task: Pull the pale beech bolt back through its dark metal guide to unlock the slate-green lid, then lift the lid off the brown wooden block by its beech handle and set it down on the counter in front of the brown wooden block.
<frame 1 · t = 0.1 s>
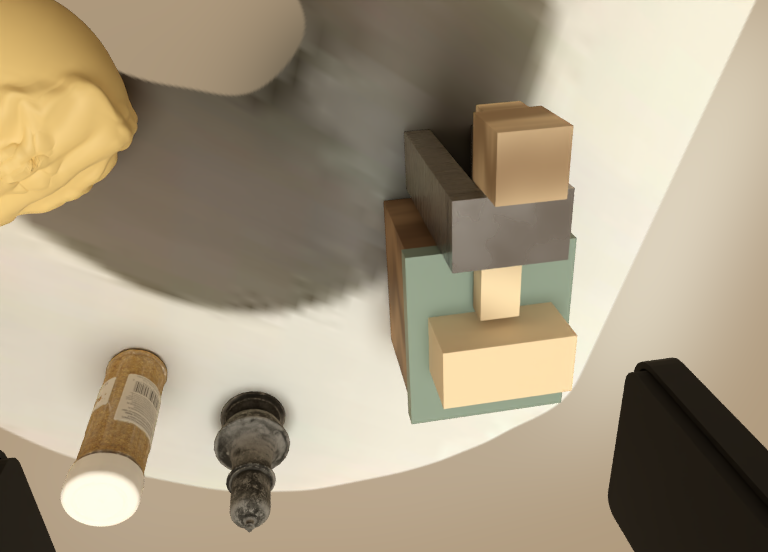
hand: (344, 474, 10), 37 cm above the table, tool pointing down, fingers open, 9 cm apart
lid: (484, 326, 43), point 9 cm above the table, touching brown wooden block
sprinkles bottle: (138, 370, 51), on the table
bolt: (510, 230, 35), point 13 cm above the table, slide at 0.0 cm
dark grey turned piece: (253, 415, 55), on the table
bolt guide: (450, 156, 47), on the table
sculpture: (42, 84, 41), on the table
brown wooden block: (450, 266, 51), on the table
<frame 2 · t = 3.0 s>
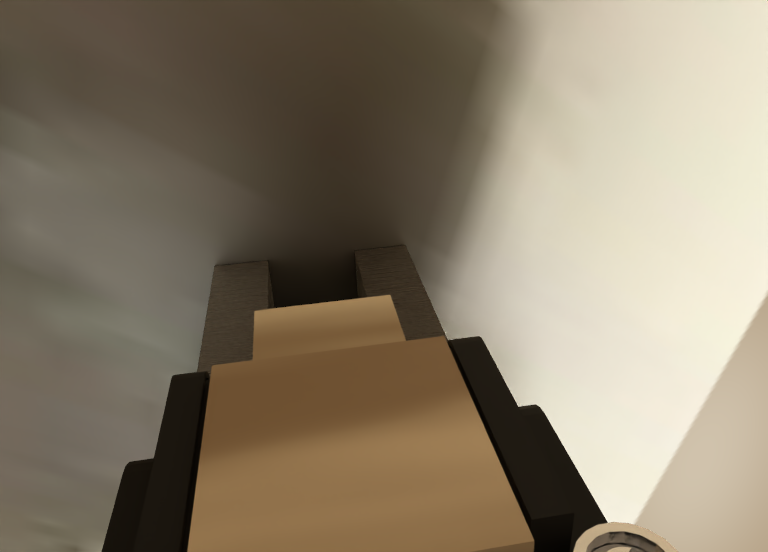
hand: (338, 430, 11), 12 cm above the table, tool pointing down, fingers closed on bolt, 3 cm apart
bolt guide: (317, 307, 24), on the table
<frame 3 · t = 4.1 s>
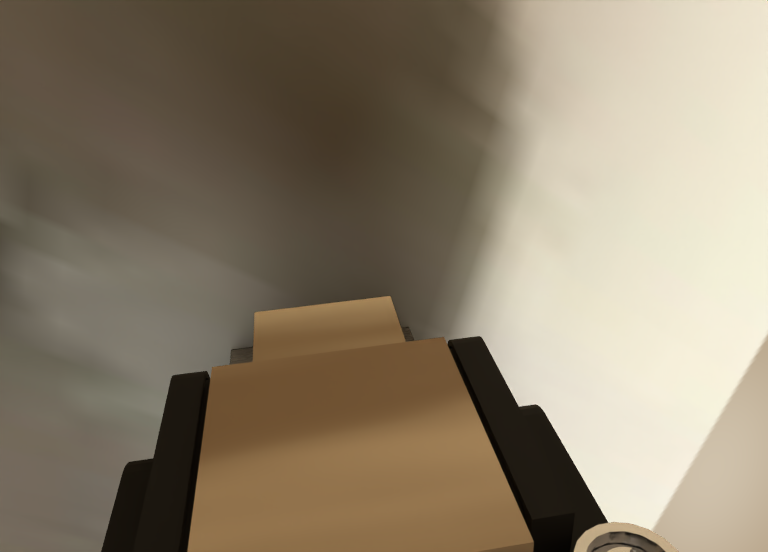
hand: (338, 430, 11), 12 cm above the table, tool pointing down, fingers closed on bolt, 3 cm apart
bolt guide: (326, 384, 25), on the table
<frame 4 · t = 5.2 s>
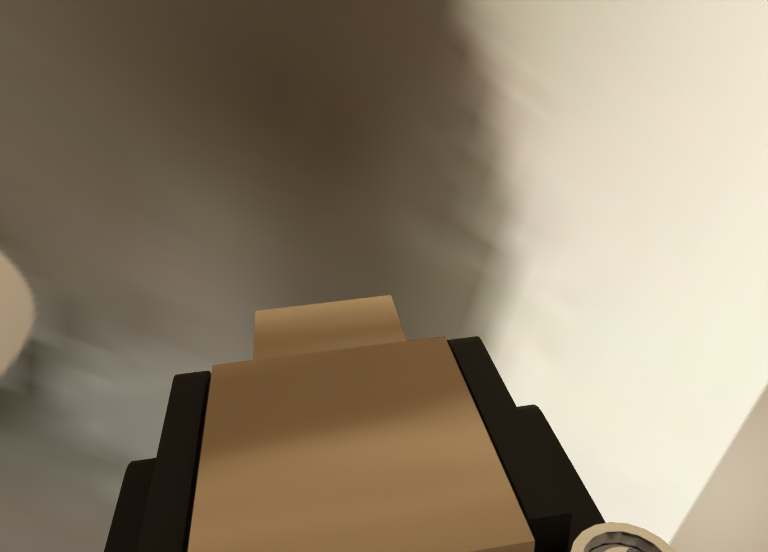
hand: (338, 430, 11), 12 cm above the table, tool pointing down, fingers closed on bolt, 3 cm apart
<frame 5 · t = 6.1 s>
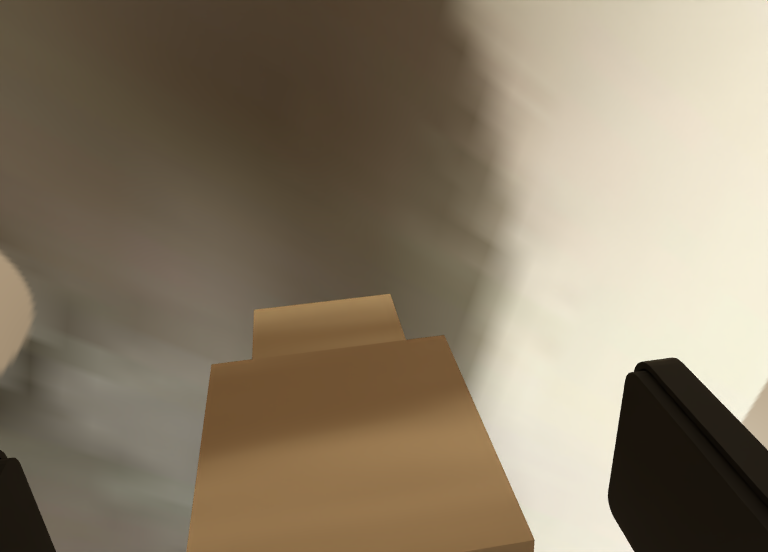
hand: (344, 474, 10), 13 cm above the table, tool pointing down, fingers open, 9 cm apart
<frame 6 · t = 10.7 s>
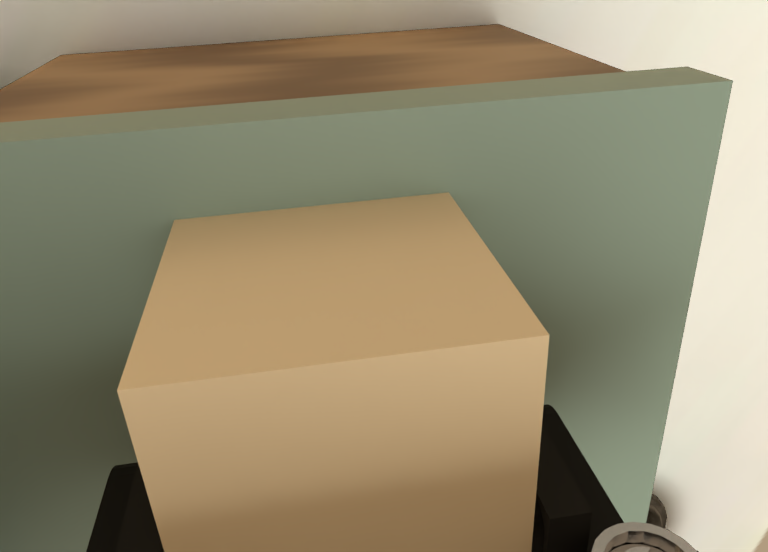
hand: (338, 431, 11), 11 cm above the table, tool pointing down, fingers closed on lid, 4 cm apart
lid: (331, 379, 12), point 9 cm above the table, touching gripper, brown wooden block
dark grey turned piece: (607, 527, 30), on the table
brown wooden block: (306, 208, 20), on the table
when the fingers open (4 cm above the table, at t = 18.2 s): lid drops 2 cm, on the table.
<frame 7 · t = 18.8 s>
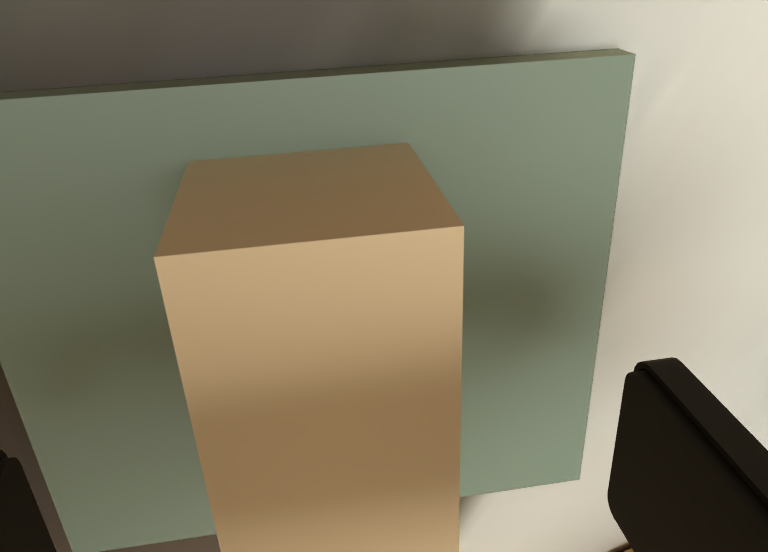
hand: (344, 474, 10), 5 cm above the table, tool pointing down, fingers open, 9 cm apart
lid: (315, 307, 15), on the table
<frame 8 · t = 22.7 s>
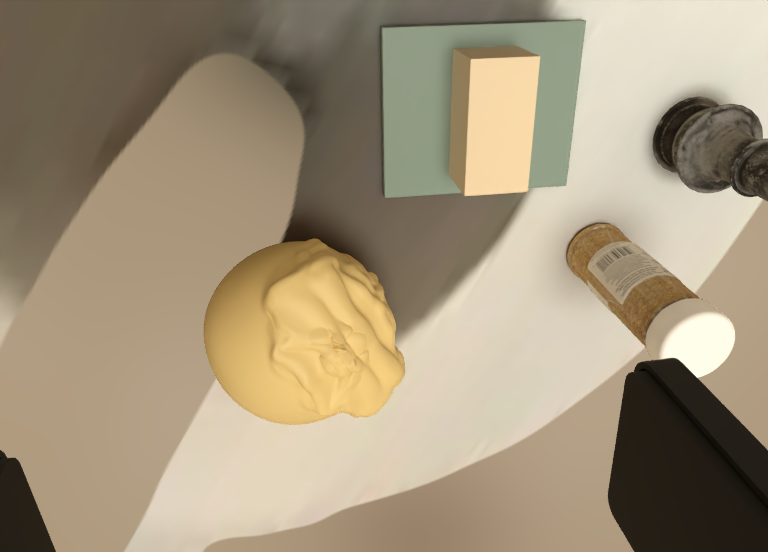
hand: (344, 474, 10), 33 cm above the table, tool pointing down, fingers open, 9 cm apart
lid: (476, 108, 43), on the table
sprinkles bottle: (593, 248, 49), on the table
dark grey turned piece: (687, 134, 46), on the table
sculpture: (298, 293, 47), on the table
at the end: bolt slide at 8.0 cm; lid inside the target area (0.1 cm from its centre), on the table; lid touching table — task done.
